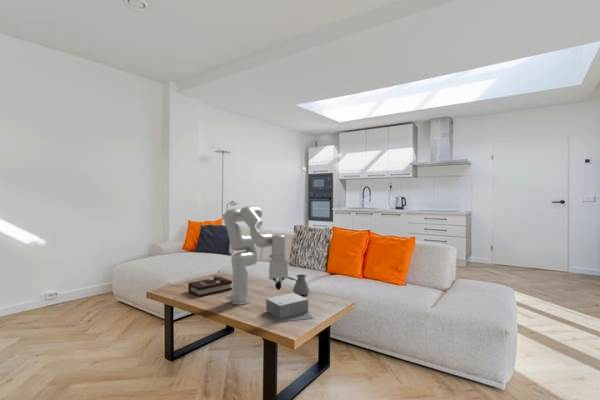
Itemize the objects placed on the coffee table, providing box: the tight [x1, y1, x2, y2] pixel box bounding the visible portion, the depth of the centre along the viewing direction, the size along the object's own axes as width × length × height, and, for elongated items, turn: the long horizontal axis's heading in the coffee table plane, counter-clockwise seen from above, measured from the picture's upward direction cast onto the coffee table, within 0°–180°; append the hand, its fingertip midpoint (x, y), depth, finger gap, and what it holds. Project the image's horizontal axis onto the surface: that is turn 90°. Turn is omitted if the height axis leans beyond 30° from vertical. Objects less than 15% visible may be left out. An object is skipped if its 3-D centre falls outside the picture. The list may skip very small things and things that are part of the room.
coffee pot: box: [286, 274, 310, 296], centre depth 212 cm, size 21×12×15 cm, turn 141°
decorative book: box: [187, 275, 233, 298], centre depth 223 cm, size 19×8×30 cm
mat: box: [274, 311, 314, 323], centre depth 178 cm, size 20×18×1 cm
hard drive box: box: [265, 292, 309, 319], centre depth 182 cm, size 16×8×20 cm
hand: (278, 289), depth 176 cm, fingers closed
